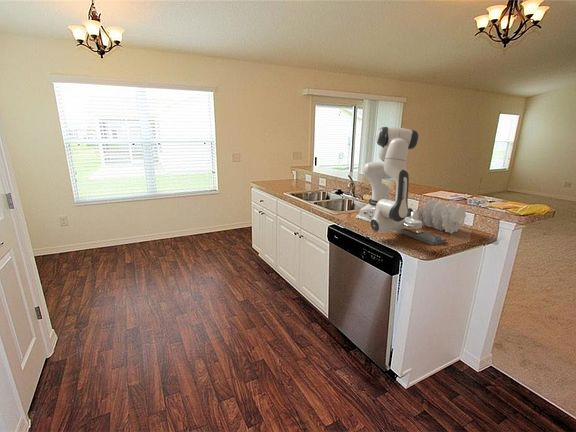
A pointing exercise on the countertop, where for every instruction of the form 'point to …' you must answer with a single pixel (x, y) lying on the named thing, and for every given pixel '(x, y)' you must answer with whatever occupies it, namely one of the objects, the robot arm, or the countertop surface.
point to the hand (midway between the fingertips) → (415, 219)
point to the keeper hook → (437, 237)
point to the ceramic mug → (409, 212)
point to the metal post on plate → (415, 219)
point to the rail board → (423, 237)
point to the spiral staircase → (442, 216)
